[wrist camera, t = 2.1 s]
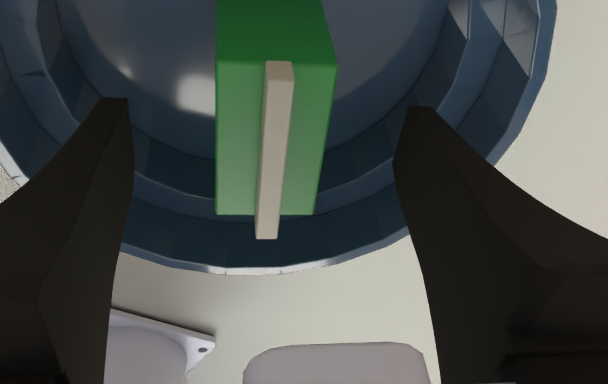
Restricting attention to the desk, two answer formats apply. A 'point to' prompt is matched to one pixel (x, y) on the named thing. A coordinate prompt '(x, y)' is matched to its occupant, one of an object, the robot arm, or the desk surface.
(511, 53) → the bowl
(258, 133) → the green rectangular block
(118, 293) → the desk surface
